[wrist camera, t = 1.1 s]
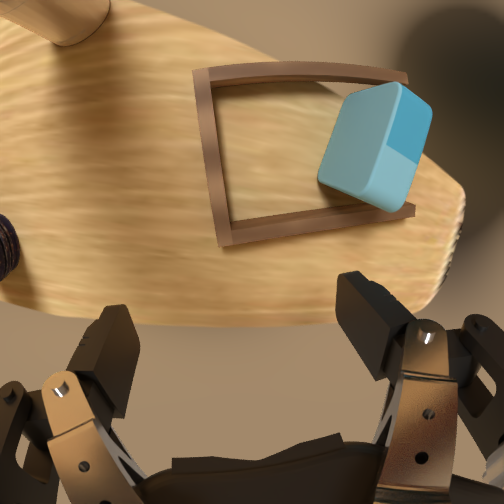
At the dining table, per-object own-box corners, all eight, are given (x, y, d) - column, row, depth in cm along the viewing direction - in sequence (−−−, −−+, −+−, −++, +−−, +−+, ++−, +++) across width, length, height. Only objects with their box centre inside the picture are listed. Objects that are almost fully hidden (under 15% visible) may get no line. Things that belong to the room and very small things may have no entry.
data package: (344, 193, 33) (399, 217, 22) (314, 180, 32) (362, 199, 21) (374, 110, 30) (436, 104, 19) (345, 94, 29) (402, 78, 18)
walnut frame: (194, 78, 26) (192, 70, 23) (391, 76, 28) (406, 72, 25) (218, 237, 33) (218, 247, 30) (400, 210, 35) (415, 216, 32)
